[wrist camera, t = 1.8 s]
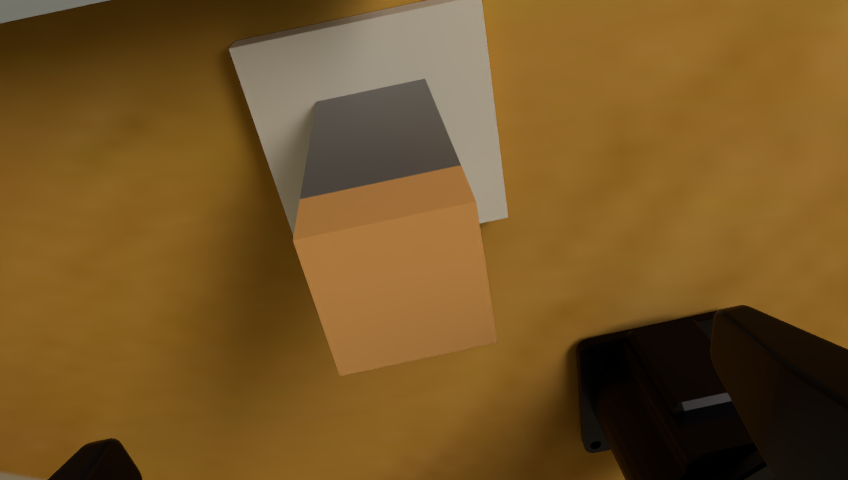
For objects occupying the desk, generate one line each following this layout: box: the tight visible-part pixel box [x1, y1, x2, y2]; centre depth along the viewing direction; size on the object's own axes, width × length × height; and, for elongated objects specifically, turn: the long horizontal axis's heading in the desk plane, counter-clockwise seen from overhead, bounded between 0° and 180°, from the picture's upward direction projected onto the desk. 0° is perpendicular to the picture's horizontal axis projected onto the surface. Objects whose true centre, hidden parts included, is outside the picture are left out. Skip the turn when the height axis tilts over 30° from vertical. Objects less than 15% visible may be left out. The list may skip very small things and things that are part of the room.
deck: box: [229, 0, 508, 236], centre depth 18 cm, size 7×7×1 cm
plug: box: [293, 79, 497, 376], centre depth 14 cm, size 3×3×8 cm
